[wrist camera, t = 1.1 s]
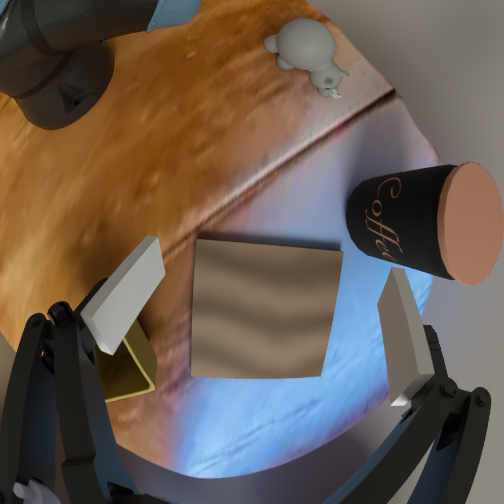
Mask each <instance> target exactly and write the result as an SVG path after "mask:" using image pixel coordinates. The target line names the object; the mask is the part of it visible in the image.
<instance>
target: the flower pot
mask: <svg viewBox="0 0 504 504" xmlns="http://www.w3.org/2000/svg"><path fill="white" fill-rule="evenodd" d="M94 349H95V351H96V355H97V362H98V368H99V373H100V379H101V384H102V389H103V394H104V398H105V402H109V401H114V400H118V399H122V398H126V397H130V396H134V395H139V394H143V393H146V392H150V391H152V390H154V389H155V383H156V373H157V359H156V355H155V353H154V350H153V348H152V346H151V345H150V343H149V341H148V339H147V337H146V336H145V334H144V332H143V330H142V328H141V326H140V324H139V322H138V320H137V318H136V319H135V321H134V322H133V324H132V325H131V327H130V328H129V330H128V332H127V333H126V335H125V336H124V338H123V339H122V341H121V343H120V344H119V346H118V348H117V349H116V351H115V352H114V354H113V355H111V354H108V353H106V352H103V351H101V349H100V348H99V346H98V344H97V345H96V346H95V348H94Z"/></svg>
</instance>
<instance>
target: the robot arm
mask: <svg viewBox="0 0 504 504" xmlns="http://www.w3.org/2000/svg"><path fill="white" fill-rule="evenodd" d="M200 3H201V0H0V92H2V93H4V94H6V95H8V96H10V97H12V98H13V99H14V100H15V101H16V103H17V104H18V106H19V107H20V109H21V110H22V112H23V113H24V115H25V117H26V119H27V120H28V121H29V122H31V123H32V124H34V125H36V126H38V127H40V128H42V129H46V130H55V129H60V128H63V127H65V126H68V125H70V124H72V123H73V122H75V121H77V120H78V119H79V118H81V117H82V116H83V115H85V114H86V113H87V112H88V111H89V110H90V109H91V108H92V107H93V106H94V105H95V104H96V102H97V101H98V100H99V99H100V97H101V96H102V94H103V93H104V91H105V90H106V88H107V86H108V84H109V82H110V79H111V77H112V73H113V69H114V58H113V54H112V52H111V50H110V48H109V47H108V45H107V44H106V42H105V41H104V40H106V39H109V38H113V37H117V36H122V35H126V34H131V33H136V32H141V31H145V32H146V33H148V32H151V31H152V30H154V29H159V28H164V27H170V26H177V25H182V24H185V23H187V22H189V21H190V20H192V19H193V18H194V17H195V16H196V14H197V13H198V10H199V7H200ZM164 276H165V269H164V265H163V260H162V255H161V250H160V245H159V239H158V237H155V236H146V237H145V238H144V239H143V240H142V242H141V243H140V244H139V245H138V246H137V247H136V248H135V249H134V250H133V251H132V252H131V254H130V255H129V256H128V257H127V258H126V259H125V260H124V261H123V262H122V264H121V265H120V266H119V267H118V268H117V269H116V270H115V272H114V273H113V274H112V275H111V276H110V277H109V278H104V279H102V280H101V281H99V282H98V283H97V284H96V285H95V286H94V288H93V289H92V291H90V292H89V293H88V296H86V297H85V298H84V299H83V301H82V302H81V303H80V304H79V306H78V307H77V308H76V309H75V311H74V312H73V311H72V309H71V307H70V305H69V304H68V303H67V302H65V301H60V302H57V303H55V304H53V305H52V306H51V307H50V308H49V310H48V313H47V315H48V317H49V318H50V320H47V319H46V317H45V316H44V314H42V313H36V314H34V315H32V316H31V317H30V318H29V319H28V321H27V323H26V325H25V328H24V331H23V334H22V337H21V340H20V343H19V346H18V350H17V353H16V357H15V360H14V364H13V367H12V371H11V375H10V379H9V384H8V388H7V393H6V398H5V403H4V409H3V415H2V422H1V430H0V504H60V501H59V499H58V498H57V497H55V496H54V494H53V493H54V488H55V446H56V424H57V412H58V417H59V423H60V430H61V436H62V441H63V446H64V451H65V455H66V460H65V462H63V463H62V466H61V468H62V475H63V478H64V482H65V485H66V489H67V493H68V496H69V499H70V502H71V504H179V503H176V502H173V501H170V500H167V499H165V498H161V497H157V496H153V495H150V494H146V493H145V494H139V493H138V490H137V488H136V486H135V484H134V481H133V480H132V478H131V477H130V476H129V474H128V473H127V471H126V470H125V467H124V465H123V462H122V459H121V456H120V453H119V450H118V447H117V444H116V440H115V437H114V434H113V430H112V427H111V423H110V419H109V415H108V411H107V407H106V403H105V398H104V394H103V389H102V384H101V379H100V373H99V368H98V362H97V355H96V351H95V349H94V348H95V346H96V345H97V344H98V346H99V348H100V349H101V351H103V352H106V353H108V354H111V355H113V354H114V352H115V351H116V349H117V348H118V346H119V344H120V343H121V341H122V339H123V338H124V336H125V335H126V333H127V332H128V330H129V328H130V327H131V325H132V324H133V322H134V321H135V319H136V317H137V316H138V314H139V313H140V311H141V310H142V308H143V307H144V305H145V304H146V302H147V301H148V299H149V298H150V296H151V295H152V293H153V292H154V290H155V289H156V287H157V286H158V284H159V283H160V281H161V280H162V278H163V277H164ZM377 306H378V311H379V317H380V323H381V329H382V335H383V342H384V349H385V357H386V365H387V375H388V385H389V397H390V406H400V405H405V404H407V402H409V401H410V400H411V407H410V408H409V409H408V410H407V411H406V412H405V413H404V414H403V415H402V417H403V418H402V419H401V420H400V422H399V423H398V424H397V426H396V427H395V428H394V430H393V431H392V432H391V433H390V435H389V436H388V437H387V438H386V440H385V441H384V442H383V443H382V444H381V445H380V447H379V448H378V449H377V450H376V451H375V453H374V454H373V455H372V456H371V457H370V458H369V459H368V460H367V461H366V462H365V463H364V465H363V466H362V467H361V468H360V469H359V470H358V471H357V472H356V473H355V474H354V475H353V476H352V477H351V478H350V479H349V480H348V481H347V482H346V483H345V484H344V485H343V486H341V487H340V488H339V489H338V490H337V491H336V492H335V493H334V494H333V495H332V496H330V497H329V498H328V499H327V500H326V501H325V502H323V503H322V504H387V503H388V502H389V500H390V499H391V498H392V497H393V496H394V495H395V493H396V492H397V491H398V490H399V489H400V487H401V486H402V485H403V483H404V482H405V481H406V480H407V479H408V477H409V476H410V475H411V473H412V472H413V471H414V469H415V468H416V466H417V465H418V464H419V462H420V461H421V459H422V457H423V456H424V455H425V453H426V452H427V450H428V449H429V447H430V446H431V444H432V443H433V441H434V443H433V446H432V449H431V451H430V454H429V457H428V459H427V462H426V464H425V466H424V469H423V471H422V474H421V476H420V478H419V480H418V482H417V484H416V486H415V489H414V491H413V493H412V495H411V497H410V498H409V500H408V502H407V504H465V502H466V500H467V497H468V495H469V492H470V489H471V487H472V484H473V481H474V478H475V475H476V472H477V468H478V465H479V461H480V458H481V454H482V450H483V446H484V441H485V437H486V432H487V427H488V421H489V415H490V409H491V397H490V394H489V392H488V391H487V390H486V389H485V388H483V387H478V388H475V390H473V391H472V392H468V391H465V390H461V389H459V388H458V387H457V384H456V383H455V382H454V381H453V380H452V379H451V378H449V377H448V375H447V371H446V367H445V362H444V358H443V355H442V351H441V347H440V344H439V340H438V337H437V333H436V332H435V330H434V329H433V328H432V326H431V325H423V324H422V321H421V317H420V314H419V311H418V308H417V305H416V301H415V298H414V295H413V292H412V289H411V287H410V284H409V281H408V278H407V275H406V273H405V270H404V269H403V268H395V267H392V268H391V271H390V273H389V276H388V279H387V281H386V284H385V286H384V289H383V291H382V294H381V296H380V299H379V301H378V304H377ZM42 351H43V352H44V353H43V356H41V355H42ZM434 439H435V440H434Z"/></svg>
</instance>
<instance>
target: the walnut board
mask: <svg viewBox="0 0 504 504" xmlns="http://www.w3.org/2000/svg"><path fill="white" fill-rule="evenodd" d="M342 259H343V251H338V250H327V249H316V248H305V247H293V246H282V245H271V244H259V243H247V242H235V241H223V240H211V239H198V238H197V239H196V253H195V268H194V286H193V308H192V342H191V376H195V377H211V378H235V379H279V378H303V377H318V376H321V372H322V367H323V363H324V359H325V354H326V350H327V345H328V341H329V336H330V331H331V326H332V321H333V315H334V310H335V304H336V299H337V293H338V287H339V280H340V274H341V267H342Z"/></svg>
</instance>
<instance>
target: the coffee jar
mask: <svg viewBox="0 0 504 504" xmlns="http://www.w3.org/2000/svg"><path fill="white" fill-rule="evenodd" d="M346 221H347V228H348V231H349V234H350V237H351V239H352V240H353V242H354V243H355V245H356V246H357V247H358V249H359V250H361V251H362V252H364V253H365V254H366V255H369V256H372V257H375V258H379V259H382V260H386V261H389V262H393V263H396V264H399V265H403V266H406V267H409V268H413V269H416V270H419V271H422V272H426V273H429V274H432V275H435V276H438V277H442V278H446V279H449V280H456V281H457V282H459V283H461V284H465V285H469V286H474V285H476V284H479V283H481V282H482V281H483V280H484V279H485V278H486V277H487V276H488V275H489V274H490V273H491V271H492V269H493V268H494V266H495V264H496V262H497V259H498V256H499V253H500V250H501V247H502V240H503V232H504V213H503V207H502V201H501V196H500V194H499V191H498V188H497V185H496V182H495V181H494V179H493V178H492V176H491V175H490V173H489V171H488V170H486V169H485V168H484V167H483V166H481V165H480V164H478V163H473V162H467V163H463V164H461V165H459V166H456V165H442V166H435V167H429V168H423V169H417V170H411V171H406V172H400V173H395V174H389V175H384V176H379V177H374V178H370V179H368V180H366V181H363V182H362V183H361V184H360V185H359V186H358V187H357V188H356V189H355V190H354V191H353V193H352V195H351V197H350V199H349V201H348V206H347V211H346Z"/></svg>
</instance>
